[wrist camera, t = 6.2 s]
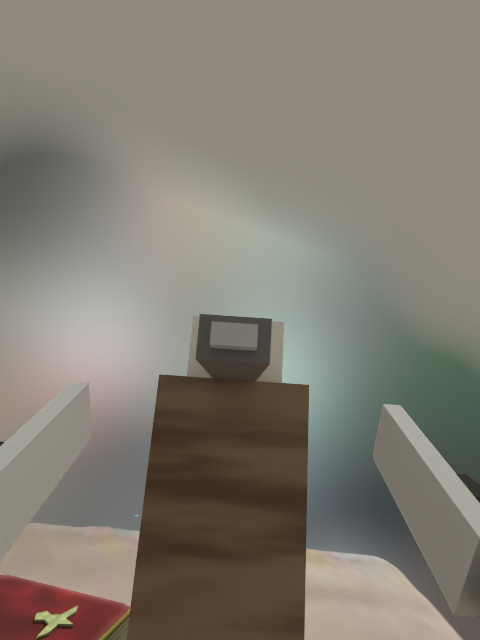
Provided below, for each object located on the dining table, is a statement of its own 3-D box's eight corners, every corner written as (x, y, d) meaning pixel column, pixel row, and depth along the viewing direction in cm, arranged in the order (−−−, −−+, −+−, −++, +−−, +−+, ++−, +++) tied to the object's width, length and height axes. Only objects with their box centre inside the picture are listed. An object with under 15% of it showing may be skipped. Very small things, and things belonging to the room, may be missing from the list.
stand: (300, 806, 25) (308, 385, 32) (107, 792, 25) (159, 374, 32) (282, 693, 34) (292, 389, 42) (143, 682, 34) (177, 381, 42)
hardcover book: (-5, 604, 46) (2, 569, 47) (133, 643, 40) (138, 602, 41) (-114, 667, 35) (-102, 618, 36) (56, 732, 29) (66, 673, 30)
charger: (321, 364, 17) (323, 254, 19) (142, 352, 17) (158, 243, 19) (271, 387, 41) (274, 338, 43) (197, 382, 41) (202, 334, 43)
